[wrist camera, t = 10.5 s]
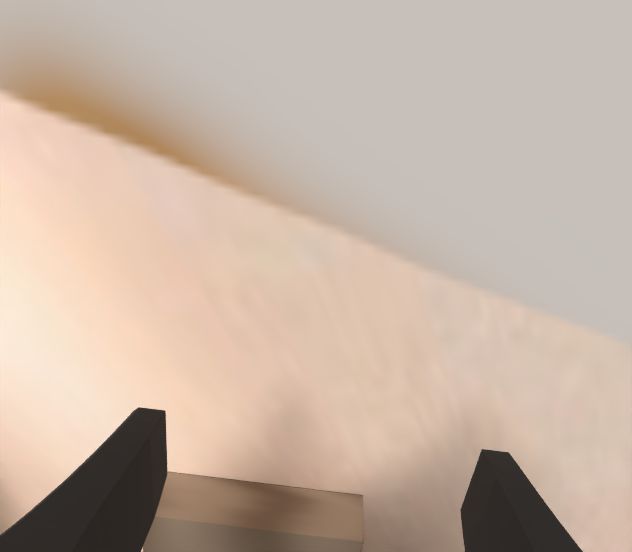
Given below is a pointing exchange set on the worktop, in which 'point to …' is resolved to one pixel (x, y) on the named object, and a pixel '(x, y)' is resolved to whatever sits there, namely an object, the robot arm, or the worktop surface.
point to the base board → (252, 518)
